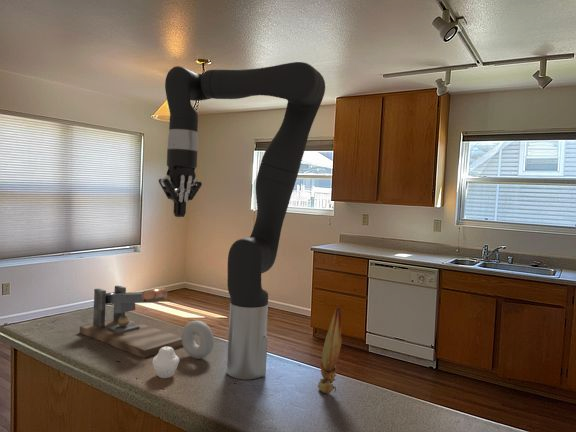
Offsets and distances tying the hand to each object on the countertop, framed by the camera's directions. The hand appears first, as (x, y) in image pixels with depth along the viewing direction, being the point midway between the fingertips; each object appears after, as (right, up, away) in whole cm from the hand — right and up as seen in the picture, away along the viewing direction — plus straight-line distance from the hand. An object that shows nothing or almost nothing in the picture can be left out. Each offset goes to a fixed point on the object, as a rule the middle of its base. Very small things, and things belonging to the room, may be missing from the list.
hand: (179, 216), depth 115 cm
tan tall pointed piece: (+36, -40, -15) cm, 56 cm away
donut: (+4, -37, +3) cm, 38 cm away
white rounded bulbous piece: (-1, -38, -9) cm, 39 cm away
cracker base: (-18, -36, +15) cm, 42 cm away
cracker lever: (-17, -27, +15) cm, 36 cm away
